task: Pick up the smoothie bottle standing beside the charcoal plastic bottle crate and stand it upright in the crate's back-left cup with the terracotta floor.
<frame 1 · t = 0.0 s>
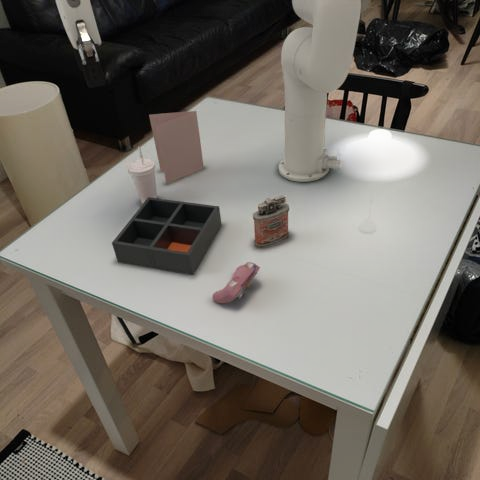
hand: (92, 77, 90), 31 cm above the table, tool pointing down, fingers open, 9 cm apart
greeting card: (181, 176, 124), on the table
video game controller: (238, 292, 93), on the table
smoothie: (149, 202, 117), on the table
lighter: (271, 241, 103), on the table
crate: (171, 243, 105), on the table
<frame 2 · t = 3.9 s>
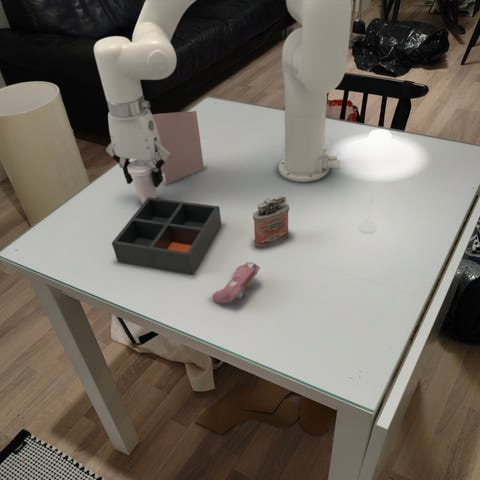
hand: (144, 182, 113), 5 cm above the table, tool pointing down, fingers closed on smoothie, 6 cm apart
smoothie: (149, 202, 117), on the table, touching gripper
everything else where it was.
when the fingers open (6 cm above the table, at t = 12.5 s): smoothie stays where it is, resting on crate.
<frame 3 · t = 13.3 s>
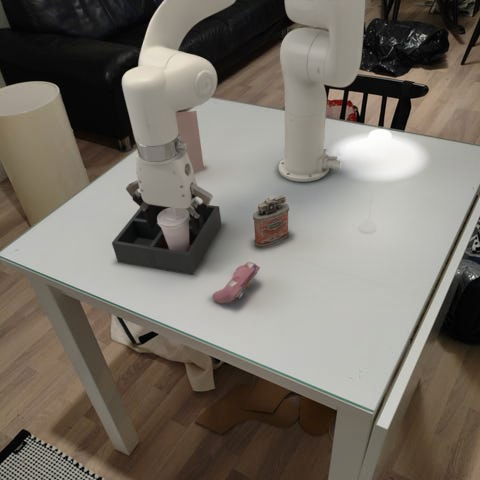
hand: (175, 227, 95), 8 cm above the table, tool pointing down, fingers open, 9 cm apart
smoothie: (181, 255, 100), point 1 cm above the table, touching crate
everything else where it was.
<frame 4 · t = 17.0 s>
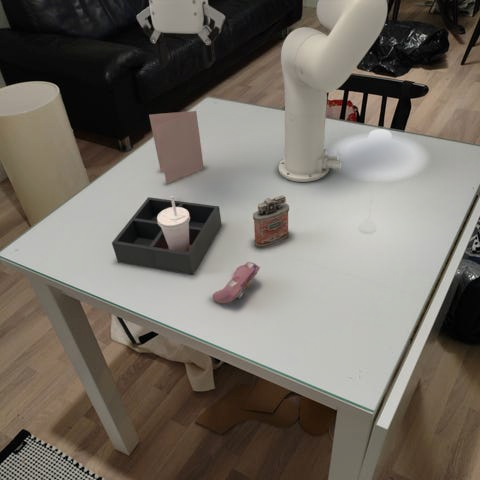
hand: (186, 64, 94), 30 cm above the table, tool pointing down, fingers open, 9 cm apart
nothing on the table moved.
at the end: smoothie 0.0 cm from the target spot in the crate, point 0.6 cm above the crate's base; smoothie tilted 0°; the gripper is holding nothing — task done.
